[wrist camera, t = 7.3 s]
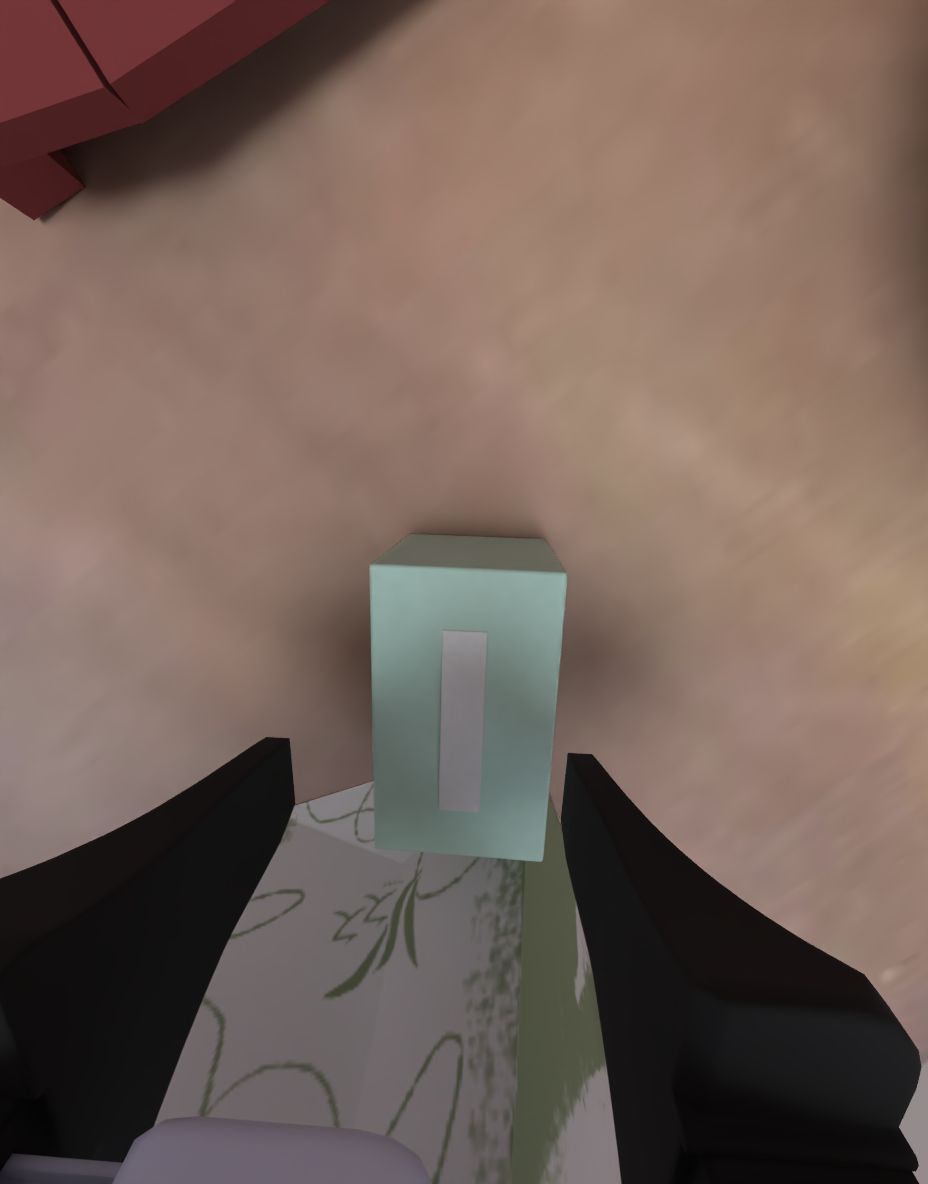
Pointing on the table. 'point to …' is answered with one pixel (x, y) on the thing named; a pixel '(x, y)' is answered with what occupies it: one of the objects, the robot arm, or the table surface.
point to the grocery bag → (410, 1006)
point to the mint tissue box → (465, 693)
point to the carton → (109, 74)
